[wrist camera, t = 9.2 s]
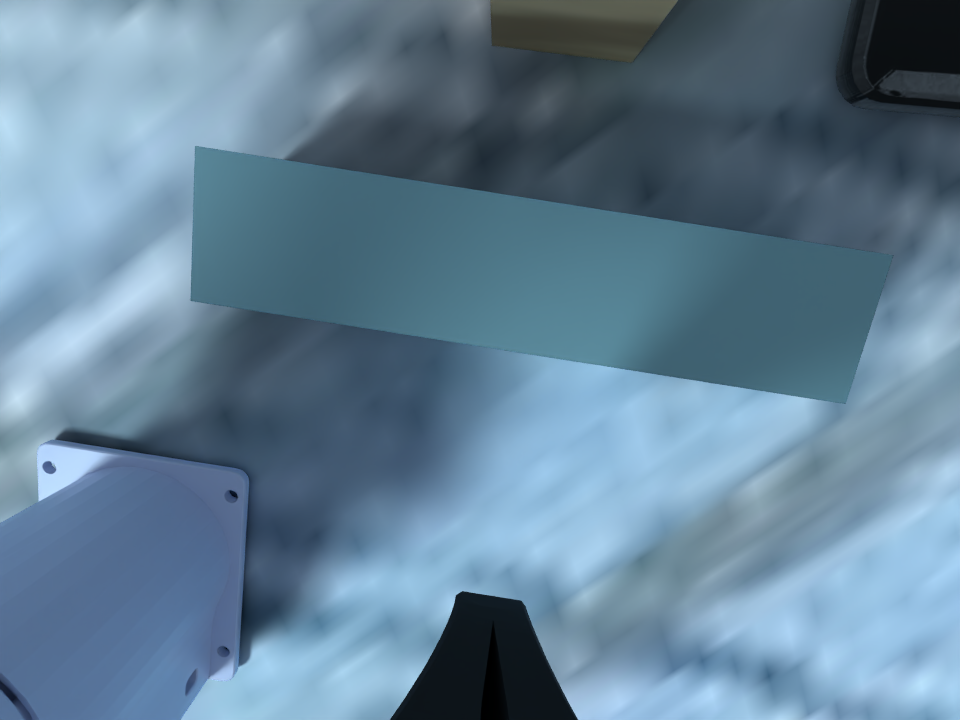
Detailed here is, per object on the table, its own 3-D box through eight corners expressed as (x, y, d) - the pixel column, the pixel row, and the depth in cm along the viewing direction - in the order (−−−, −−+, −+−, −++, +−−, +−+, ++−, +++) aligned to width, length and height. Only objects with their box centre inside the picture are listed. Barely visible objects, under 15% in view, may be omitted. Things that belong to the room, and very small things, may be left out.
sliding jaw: (763, 366, 19) (845, 404, 14) (263, 287, 19) (190, 300, 14) (795, 252, 18) (893, 255, 13) (270, 170, 18) (194, 145, 13)
